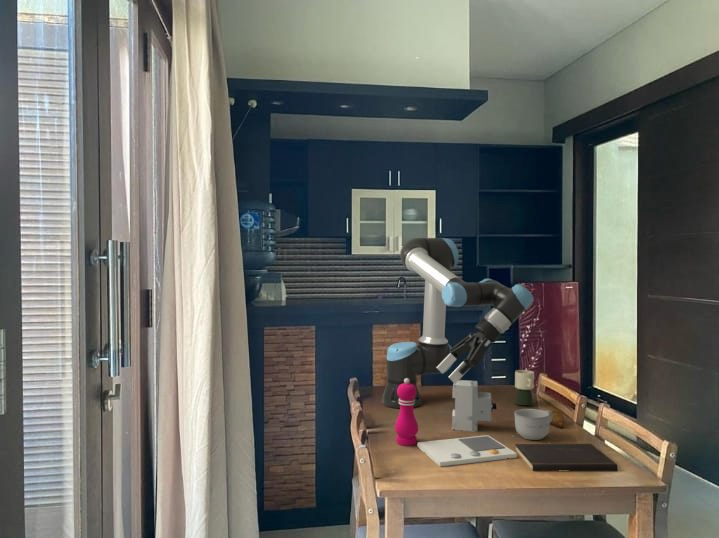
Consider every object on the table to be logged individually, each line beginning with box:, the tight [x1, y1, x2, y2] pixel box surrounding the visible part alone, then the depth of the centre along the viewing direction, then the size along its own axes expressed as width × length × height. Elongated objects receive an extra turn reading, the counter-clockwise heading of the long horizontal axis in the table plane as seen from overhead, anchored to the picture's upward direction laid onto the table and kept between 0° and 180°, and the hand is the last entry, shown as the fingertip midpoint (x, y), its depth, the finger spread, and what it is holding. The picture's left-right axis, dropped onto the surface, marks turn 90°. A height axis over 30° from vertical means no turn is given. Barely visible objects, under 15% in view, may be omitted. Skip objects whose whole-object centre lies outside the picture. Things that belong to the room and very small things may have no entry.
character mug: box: [514, 369, 535, 407], centre depth 206 cm, size 11×7×13 cm, turn 7°
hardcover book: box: [514, 443, 619, 472], centre depth 151 cm, size 16×23×2 cm
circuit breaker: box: [451, 379, 497, 432], centre depth 179 cm, size 8×14×15 cm, turn 78°
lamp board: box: [416, 434, 518, 468], centre depth 157 cm, size 16×24×2 cm, turn 106°
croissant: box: [549, 408, 566, 429], centre depth 185 cm, size 14×7×5 cm, turn 2°
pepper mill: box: [394, 378, 419, 447], centre depth 164 cm, size 7×7×20 cm
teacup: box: [513, 408, 553, 441], centre depth 170 cm, size 14×11×8 cm
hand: (445, 375), depth 164 cm, fingers open, 13 cm apart
